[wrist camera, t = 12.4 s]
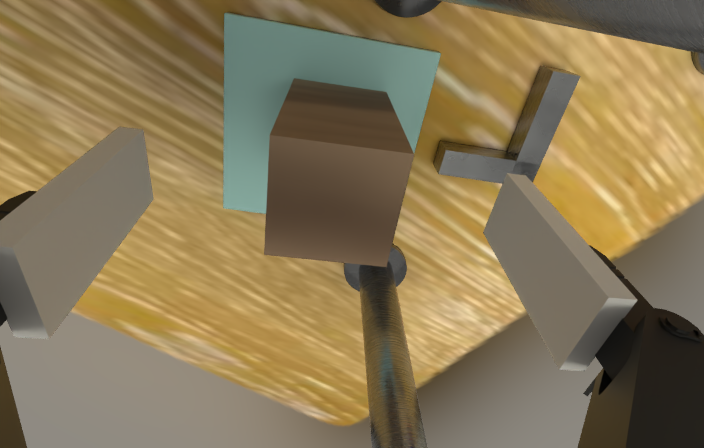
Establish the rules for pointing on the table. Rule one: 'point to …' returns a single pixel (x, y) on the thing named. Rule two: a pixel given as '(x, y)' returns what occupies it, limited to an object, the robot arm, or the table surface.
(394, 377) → the post
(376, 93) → the walnut block
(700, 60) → the post
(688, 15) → the post
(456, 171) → the gray corner bracket
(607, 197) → the table surface
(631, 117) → the table surface
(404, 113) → the pad
